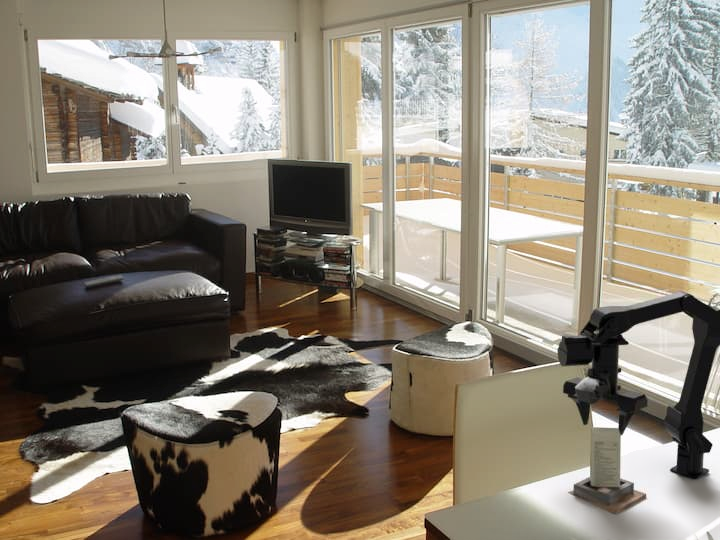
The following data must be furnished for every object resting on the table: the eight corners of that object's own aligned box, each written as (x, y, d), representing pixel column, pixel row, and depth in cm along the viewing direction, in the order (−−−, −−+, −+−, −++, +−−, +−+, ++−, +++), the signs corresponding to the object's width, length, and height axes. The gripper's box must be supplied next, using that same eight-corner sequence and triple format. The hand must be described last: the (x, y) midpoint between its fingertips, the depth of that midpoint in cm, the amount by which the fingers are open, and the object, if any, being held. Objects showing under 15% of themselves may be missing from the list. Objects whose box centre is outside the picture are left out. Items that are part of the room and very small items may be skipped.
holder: (598, 480, 188) (598, 468, 188) (646, 497, 179) (646, 484, 179) (567, 495, 181) (567, 483, 180) (615, 514, 172) (616, 500, 171)
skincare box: (618, 480, 181) (620, 427, 179) (620, 488, 177) (622, 434, 175) (588, 478, 182) (590, 425, 180) (589, 486, 178) (591, 432, 176)
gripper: (549, 362, 186) (547, 427, 189) (622, 379, 172) (619, 450, 175) (577, 353, 193) (576, 416, 196) (650, 369, 179) (647, 437, 182)
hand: (602, 429), depth 187 cm, fingers open, 9 cm apart
